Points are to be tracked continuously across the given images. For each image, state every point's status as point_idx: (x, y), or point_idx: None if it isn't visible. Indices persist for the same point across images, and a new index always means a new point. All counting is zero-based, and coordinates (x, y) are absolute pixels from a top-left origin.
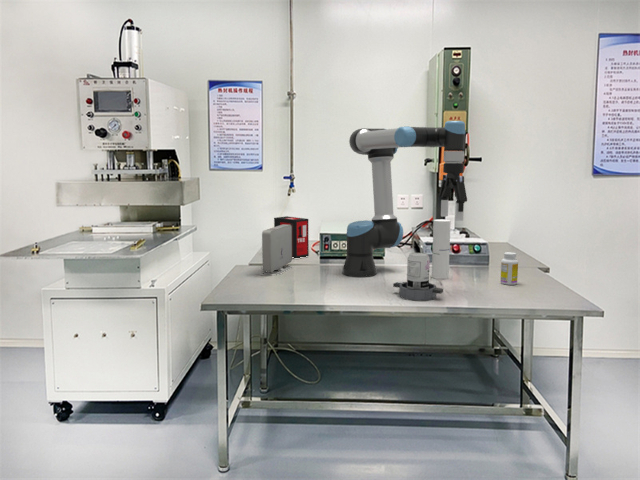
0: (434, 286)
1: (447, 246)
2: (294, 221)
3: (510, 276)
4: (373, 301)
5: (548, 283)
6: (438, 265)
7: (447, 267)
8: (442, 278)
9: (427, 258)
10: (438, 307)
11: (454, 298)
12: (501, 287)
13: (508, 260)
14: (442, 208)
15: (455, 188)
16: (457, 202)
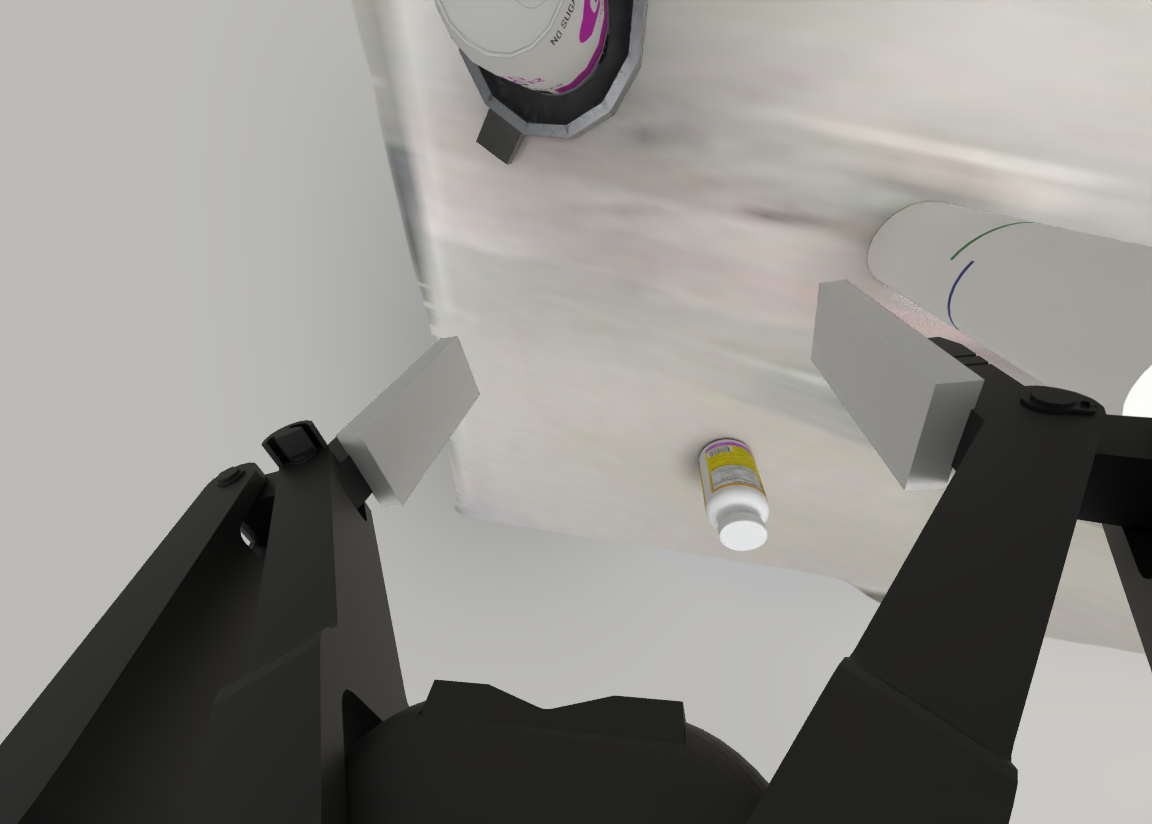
0: (536, 125)
1: (964, 324)
2: None
3: (702, 471)
4: None
5: (705, 541)
6: (917, 239)
7: (896, 288)
8: (870, 248)
9: (462, 47)
10: (394, 111)
11: (529, 215)
12: (676, 420)
13: (718, 506)
14: (860, 331)
15: (259, 650)
16: (289, 437)
